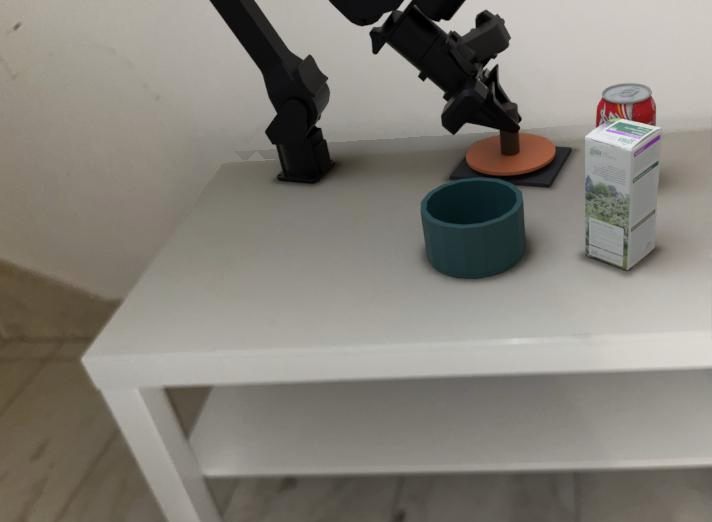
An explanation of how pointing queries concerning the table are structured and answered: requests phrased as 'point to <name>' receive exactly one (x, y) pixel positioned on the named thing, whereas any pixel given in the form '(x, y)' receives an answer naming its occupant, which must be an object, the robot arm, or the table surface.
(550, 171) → the mat
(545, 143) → the lid
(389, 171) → the table surface
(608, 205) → the syrup box
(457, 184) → the round pot
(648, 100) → the soda can
